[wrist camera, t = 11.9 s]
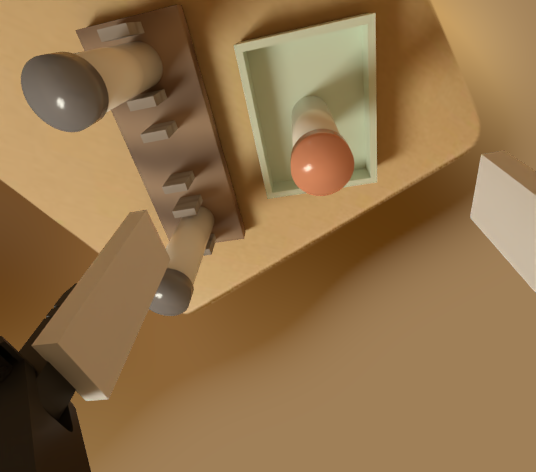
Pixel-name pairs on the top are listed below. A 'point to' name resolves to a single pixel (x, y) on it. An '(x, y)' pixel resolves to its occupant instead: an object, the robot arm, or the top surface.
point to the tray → (312, 93)
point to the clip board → (173, 126)
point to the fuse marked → (318, 149)
